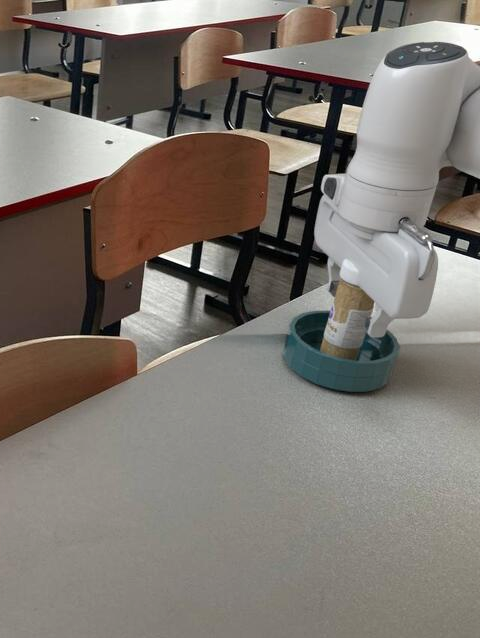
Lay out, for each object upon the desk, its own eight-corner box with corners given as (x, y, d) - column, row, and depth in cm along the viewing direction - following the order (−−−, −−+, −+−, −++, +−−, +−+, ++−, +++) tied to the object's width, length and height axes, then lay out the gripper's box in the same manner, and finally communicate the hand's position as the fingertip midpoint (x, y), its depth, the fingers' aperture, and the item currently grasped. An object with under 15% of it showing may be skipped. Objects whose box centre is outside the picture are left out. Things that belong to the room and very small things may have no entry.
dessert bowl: (359, 339, 98) (368, 309, 96) (409, 395, 88) (420, 362, 85) (267, 341, 98) (274, 310, 95) (306, 397, 87) (315, 364, 85)
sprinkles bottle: (311, 352, 94) (337, 254, 88) (347, 353, 94) (376, 255, 88) (324, 373, 90) (352, 272, 84) (362, 374, 90) (394, 272, 84)
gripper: (469, 241, 73) (428, 361, 80) (367, 171, 91) (341, 274, 98) (406, 242, 73) (370, 362, 80) (316, 171, 90) (293, 275, 97)
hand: (353, 313), depth 89 cm, fingers open, 8 cm apart
